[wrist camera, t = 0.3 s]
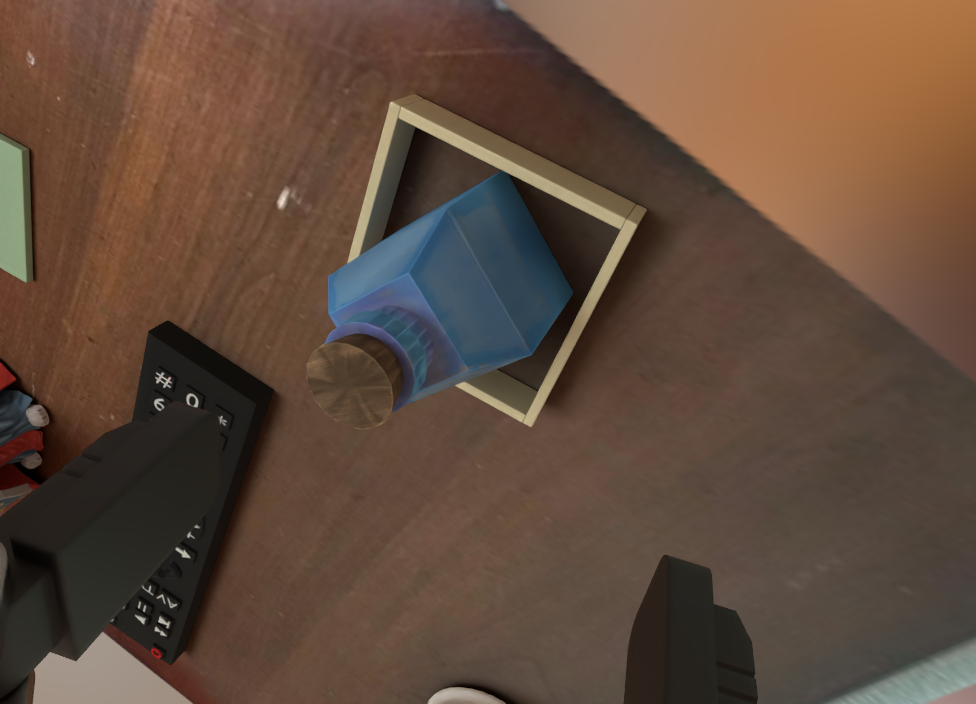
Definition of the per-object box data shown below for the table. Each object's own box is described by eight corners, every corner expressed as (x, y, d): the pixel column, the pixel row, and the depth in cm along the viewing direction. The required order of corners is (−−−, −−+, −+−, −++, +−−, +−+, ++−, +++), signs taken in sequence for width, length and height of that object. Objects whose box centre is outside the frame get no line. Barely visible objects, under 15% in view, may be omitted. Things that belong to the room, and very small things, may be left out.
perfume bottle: (505, 168, 30) (364, 264, 20) (573, 293, 31) (474, 440, 21) (399, 229, 33) (233, 338, 23) (466, 339, 35) (336, 486, 25)
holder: (414, 93, 30) (389, 101, 28) (647, 209, 28) (638, 224, 27) (355, 301, 36) (331, 318, 34) (545, 404, 35) (531, 428, 33)
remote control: (111, 600, 60) (91, 618, 58) (167, 320, 42) (141, 334, 40) (184, 651, 59) (166, 671, 57) (273, 390, 41) (251, 407, 39)
